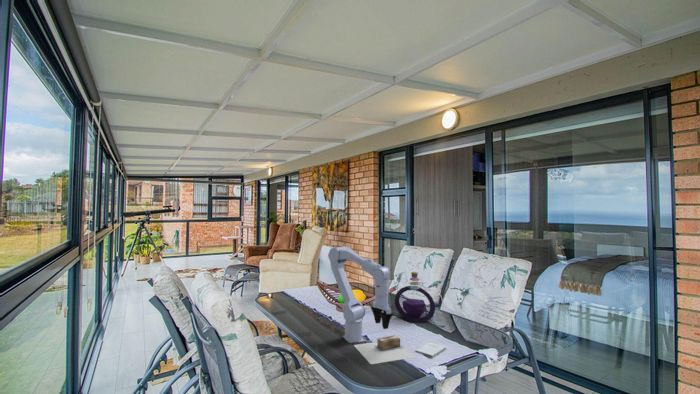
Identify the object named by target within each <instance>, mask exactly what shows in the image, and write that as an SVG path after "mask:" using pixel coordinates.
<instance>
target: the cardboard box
mask: <svg viewBox="0 0 700 394" xmlns="http://www.w3.org/2000/svg"><path fill="white" fill-rule="evenodd" d="M376 340H377V341H376V342H377V347H378V348H380V349H381V350H388V349H392V348H396V347H400V345H401V338H400V337H398V336H397V335H389V336H385V337H380V338H377V339H376Z"/></svg>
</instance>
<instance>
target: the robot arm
mask: <svg viewBox="0 0 700 394" xmlns="http://www.w3.org/2000/svg"><path fill="white" fill-rule="evenodd" d="M327 257H328V259H329V261H330V270H331V271H332V274H333V277H334V279H335V282H336V284H337V286H338V287H337V288H338V290H339V292H340V295H341V297H342V300H343V302H344V303H343V305H342V312H343V313H342V314H343V319H344V320H345V322H344V335H342V338H343V339H344V340H345V341H347V343H349V344H352V343H359V342H360V343H361V342H366V340H365V339H364V338H363V320H364V317H365V315H366V309H365V307H364V306H363V304H362V302H361V301H360V300H359V299H357V298H356V296H355V294H354V291H353V288H352V287H351V284H350V281H349V279H348V276H347V274H346V271H345V268H344V266H345V264H346V262H347V261H348V260H349V261H352V262H353V263H355V264H357V265H358V266H361V270H362V271H364V272H365V273H367V274H369V275H370V276H372V278H373V280H374V300H372V306H371V307H370V309H371V311H372V313H373V318H374V322H375V324H380V323H381V324H382V329H383V330H386V329H389V326H390V322H391V320H392V317H393V316H394V312H392V309H391V307H390V305H389V279H390V277H391V274H392V273H391V270H390V268H388V267H387V266H386V265H385V266H384V265H383V266H382V265H381V264H379V263H377V262H375V261H374V260H373V259H372V258H366V259H365V257H364V258H363V257H362V256H361V255H359V254H358V253H356V252H355V251H354V250H353V249H352V248H351V247H349V246H347V245H344V246H337V247H331V248H330V250H329V251H328V254H327Z"/></svg>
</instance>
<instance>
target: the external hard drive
mask: <svg viewBox="0 0 700 394" xmlns="http://www.w3.org/2000/svg"><path fill="white" fill-rule="evenodd" d="M445 350H447V347H446V346H445V345H443V344H442V345H441V344H438V343H435V342H428V343H426V344H424V345H422V346H420V347H419V348H417V349H416V350H414V351H415V352H416V353H419V354H421V355H423V356H424V357H428V358H430V359H434V358H436V357H437V356H438V355H440V354H441V353H443V352H444V351H445ZM436 355H437V356H436ZM433 357H434V358H433Z"/></svg>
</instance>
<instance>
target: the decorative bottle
mask: <svg viewBox="0 0 700 394" xmlns="http://www.w3.org/2000/svg"><path fill="white" fill-rule="evenodd" d="M418 273H419V272H416V271H411V272H410V274H411V277H410V278H409V281H410V282H409V285H408V286H403V287H402V288H400V289H399V290H397V292H396V293H395V296H394V306H395V308H396V310H397V312H398V313H399V315H400V316H402V317H403V318H404V319H405V320H408V321H410V322H412V323H419V324H420V323H425V322H428V321H430V320H431V319H432V318H433V317H434V314H435V312H436V303H435V300H434V299H433V297H432V296H431V294H430V293H429V292H427V290H426V289H423V288H421V287H419V285H420V283H419V281H420V278H418V275H419V274H418ZM408 291H417V292H419V293H421V294H422V295H424V296H425V297H426V299H427V300H428V303H429V310H427V307H426V302H425V301H424V300H425V299H418V298H417V299H416V298H409V297H407V296H405V295H404V293H406V292H408ZM401 297H403V298H404V299H405V300H403V301H402V307H401V304H400V299H401ZM425 312H426V313H427V314H426V315H423V314H424V313H425Z"/></svg>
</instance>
